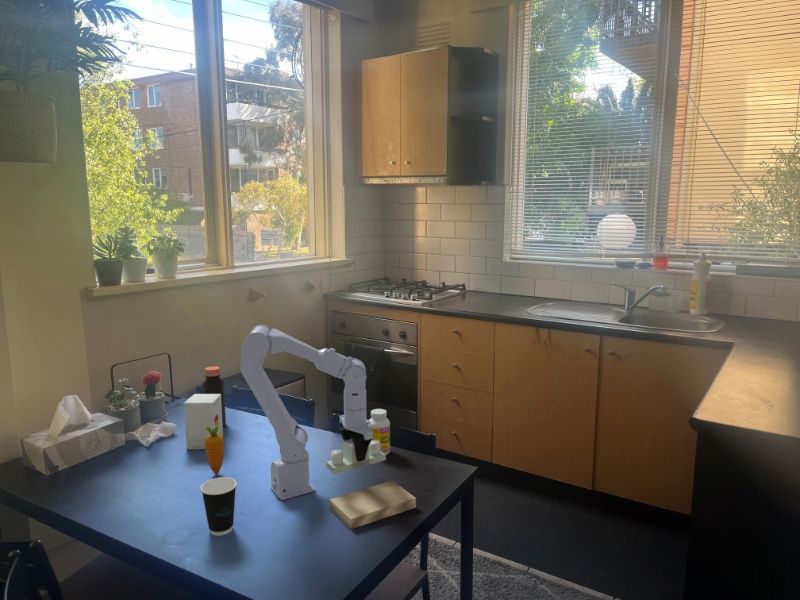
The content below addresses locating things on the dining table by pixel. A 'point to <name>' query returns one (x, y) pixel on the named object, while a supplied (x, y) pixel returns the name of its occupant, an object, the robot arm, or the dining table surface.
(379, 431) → the supplement bottle
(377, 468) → the dining table surface
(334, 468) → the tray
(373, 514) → the shelf board
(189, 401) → the supplement box
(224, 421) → the vinegar
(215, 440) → the carrot
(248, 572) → the dining table surface
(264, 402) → the robot arm
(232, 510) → the dixie cup
